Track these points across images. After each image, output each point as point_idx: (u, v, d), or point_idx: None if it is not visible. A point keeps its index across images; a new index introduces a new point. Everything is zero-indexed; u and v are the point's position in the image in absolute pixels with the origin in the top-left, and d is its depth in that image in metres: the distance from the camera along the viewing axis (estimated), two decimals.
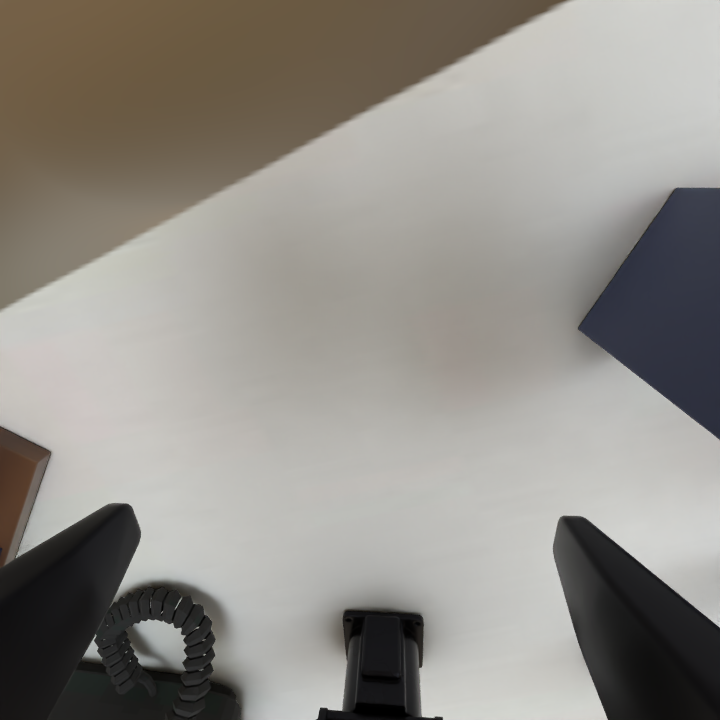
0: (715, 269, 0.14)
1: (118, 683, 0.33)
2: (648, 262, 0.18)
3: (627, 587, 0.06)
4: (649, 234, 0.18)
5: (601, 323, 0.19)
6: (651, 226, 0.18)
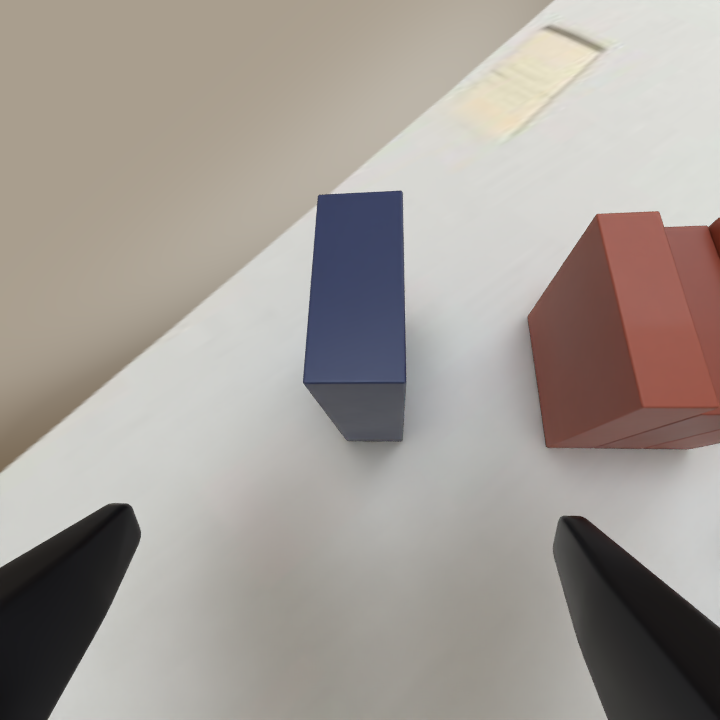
0: None
1: None
2: None
3: (627, 587, 0.06)
4: None
5: None
6: None
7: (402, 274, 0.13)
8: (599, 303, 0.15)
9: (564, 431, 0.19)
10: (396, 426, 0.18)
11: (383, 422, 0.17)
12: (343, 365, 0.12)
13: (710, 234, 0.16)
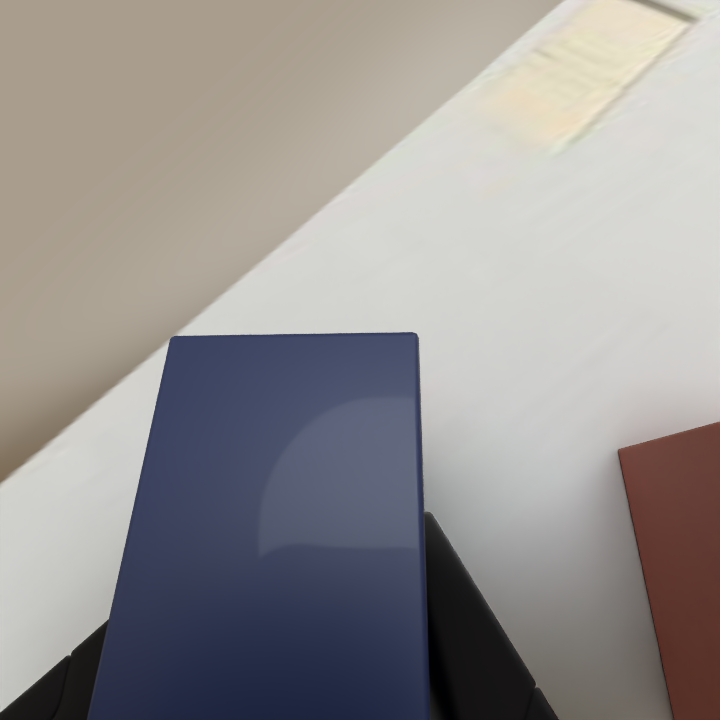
0: None
1: None
2: None
3: (430, 578, 0.06)
4: None
5: None
6: None
7: (423, 707, 0.03)
8: None
9: None
10: None
11: None
12: None
13: None
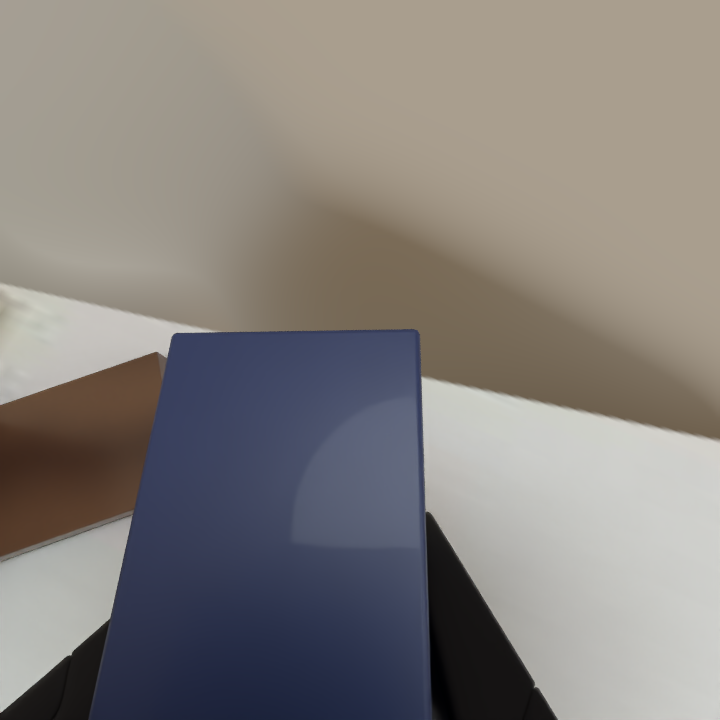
0: None
1: None
2: None
3: (429, 578, 0.06)
4: None
5: None
6: None
7: (425, 701, 0.03)
8: None
9: None
10: None
11: None
12: None
13: None
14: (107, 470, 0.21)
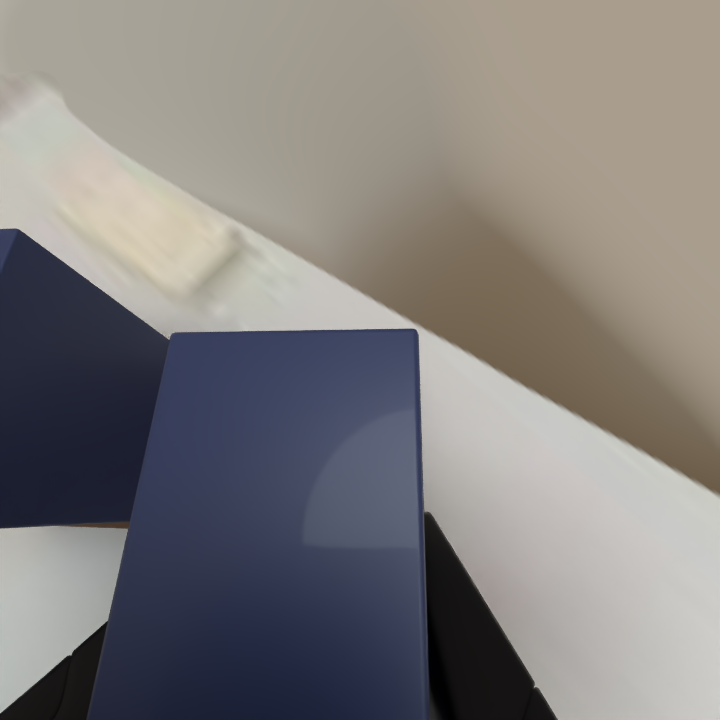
0: None
1: None
2: None
3: (429, 578, 0.06)
4: None
5: None
6: None
7: (423, 700, 0.03)
8: None
9: None
10: None
11: None
12: None
13: None
14: None
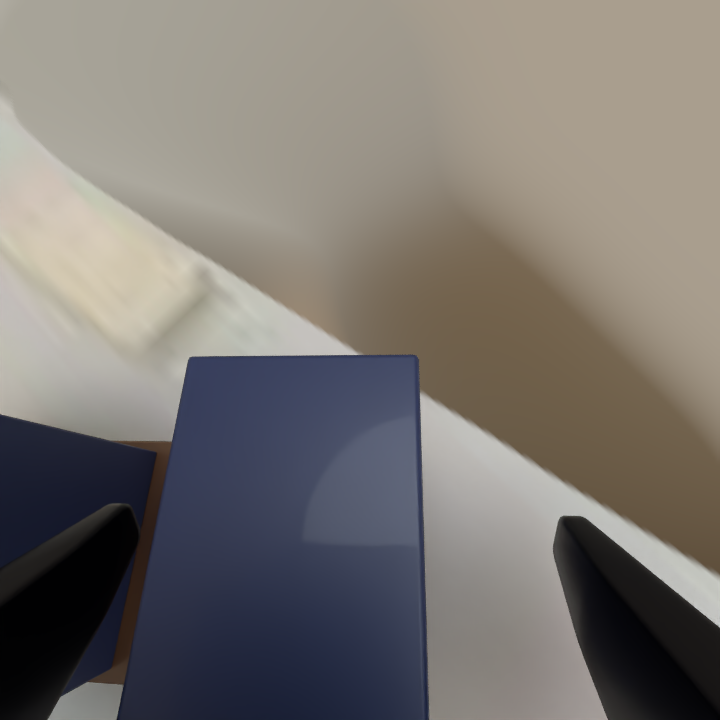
0: None
1: None
2: None
3: (627, 587, 0.06)
4: None
5: None
6: None
7: (423, 698, 0.04)
8: None
9: None
10: None
11: None
12: None
13: None
14: None
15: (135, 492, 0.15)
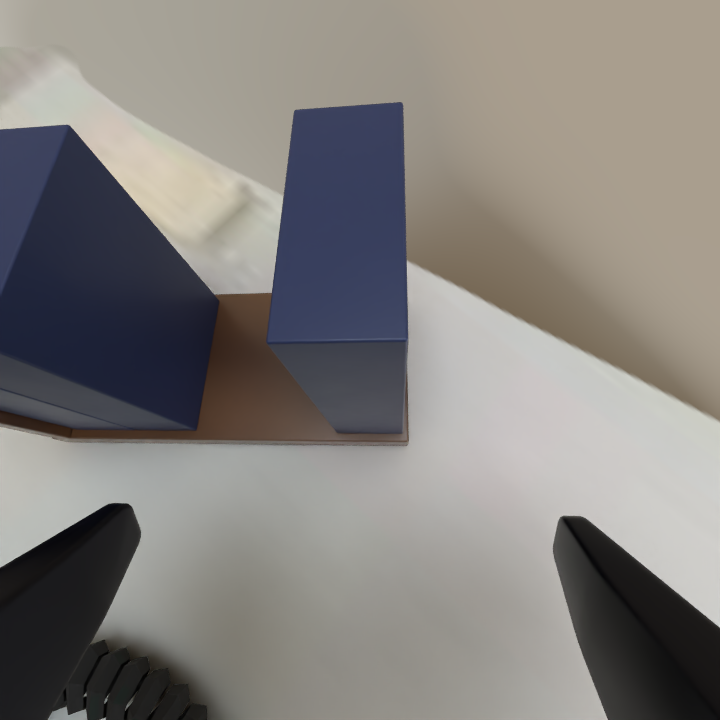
0: None
1: None
2: None
3: (627, 587, 0.06)
4: None
5: None
6: None
7: (402, 201, 0.10)
8: None
9: None
10: (395, 412, 0.15)
11: (379, 407, 0.14)
12: (322, 318, 0.09)
13: None
14: None
15: (208, 319, 0.21)
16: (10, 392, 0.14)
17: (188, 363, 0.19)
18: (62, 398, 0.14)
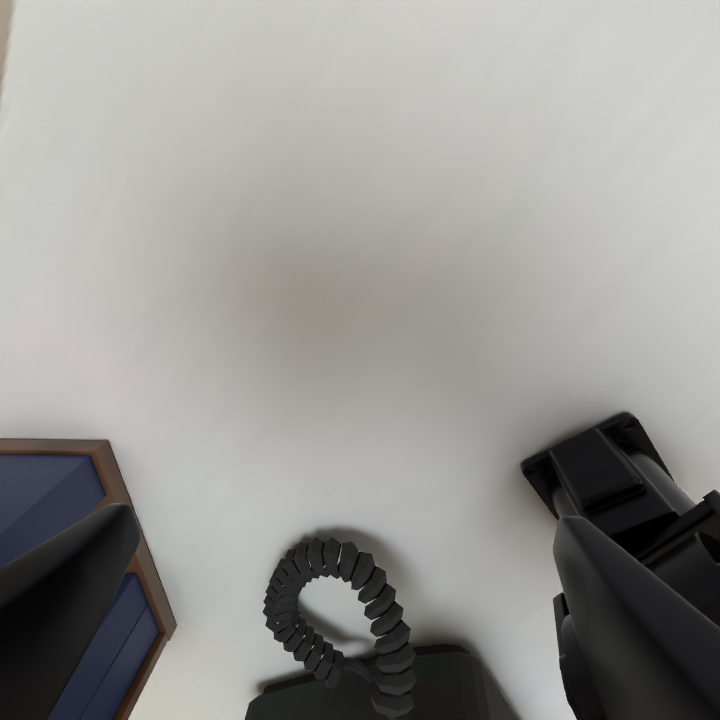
0: None
1: (323, 676, 0.28)
2: None
3: (627, 587, 0.06)
4: None
5: None
6: None
7: None
8: None
9: None
10: (31, 514, 0.20)
11: (21, 535, 0.19)
12: None
13: None
14: None
15: None
16: (81, 717, 0.23)
17: None
18: (83, 689, 0.23)
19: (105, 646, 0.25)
